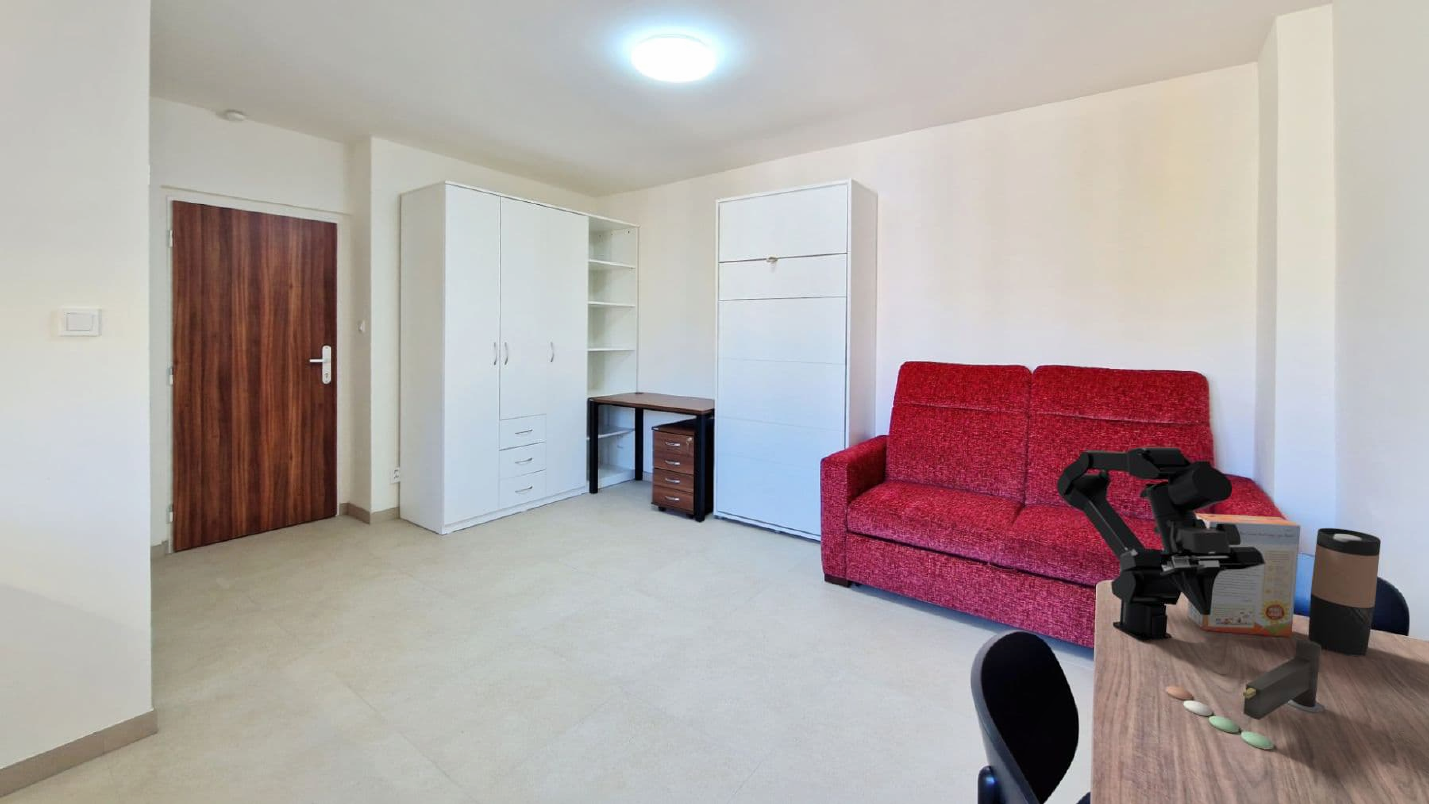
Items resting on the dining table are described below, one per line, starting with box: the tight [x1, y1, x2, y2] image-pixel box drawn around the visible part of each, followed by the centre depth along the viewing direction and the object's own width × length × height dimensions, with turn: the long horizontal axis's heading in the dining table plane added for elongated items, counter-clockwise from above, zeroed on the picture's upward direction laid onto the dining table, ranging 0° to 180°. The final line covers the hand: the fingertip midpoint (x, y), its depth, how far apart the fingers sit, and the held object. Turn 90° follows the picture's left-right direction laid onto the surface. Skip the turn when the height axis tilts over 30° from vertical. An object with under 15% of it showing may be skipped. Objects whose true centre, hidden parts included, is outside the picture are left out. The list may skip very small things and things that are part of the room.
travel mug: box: [1308, 527, 1381, 657], centre depth 104 cm, size 8×8×20 cm
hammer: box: [1242, 638, 1322, 721], centre depth 83 cm, size 3×20×9 cm, turn 118°
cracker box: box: [1187, 512, 1301, 638], centre depth 110 cm, size 14×6×21 cm, turn 77°
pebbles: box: [1164, 685, 1325, 749], centre depth 87 cm, size 14×20×1 cm
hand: (1205, 614), depth 95 cm, fingers closed
